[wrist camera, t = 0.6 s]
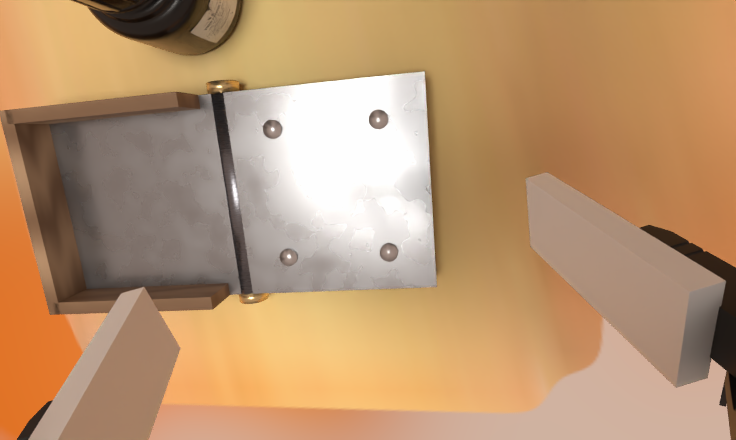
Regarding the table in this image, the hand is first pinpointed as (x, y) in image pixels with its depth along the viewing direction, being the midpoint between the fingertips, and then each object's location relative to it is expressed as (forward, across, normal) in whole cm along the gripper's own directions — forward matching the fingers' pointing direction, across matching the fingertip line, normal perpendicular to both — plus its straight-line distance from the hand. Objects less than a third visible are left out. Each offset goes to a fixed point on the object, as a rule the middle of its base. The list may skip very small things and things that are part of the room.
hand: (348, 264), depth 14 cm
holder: (+22, -16, -3) cm, 27 cm away
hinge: (+22, -8, -4) cm, 24 cm away
